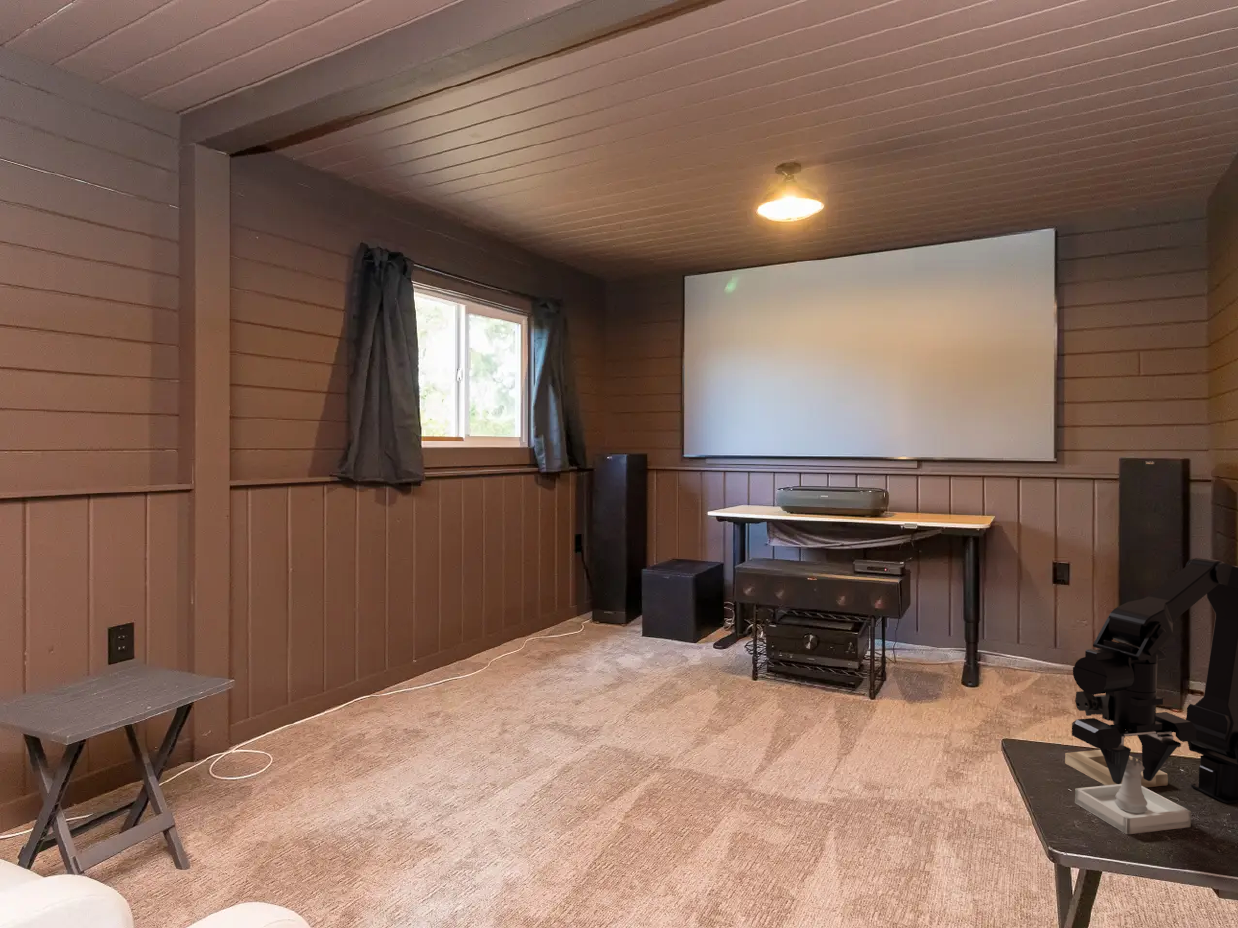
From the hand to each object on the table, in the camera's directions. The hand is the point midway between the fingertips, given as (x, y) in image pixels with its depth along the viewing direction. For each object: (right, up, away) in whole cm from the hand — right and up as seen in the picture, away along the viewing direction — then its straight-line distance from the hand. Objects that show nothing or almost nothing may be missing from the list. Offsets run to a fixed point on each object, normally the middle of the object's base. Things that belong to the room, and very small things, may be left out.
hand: (1131, 781), depth 120 cm
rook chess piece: (0, -5, 0) cm, 5 cm away
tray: (0, -6, 0) cm, 6 cm away
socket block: (+7, -5, +15) cm, 17 cm away
